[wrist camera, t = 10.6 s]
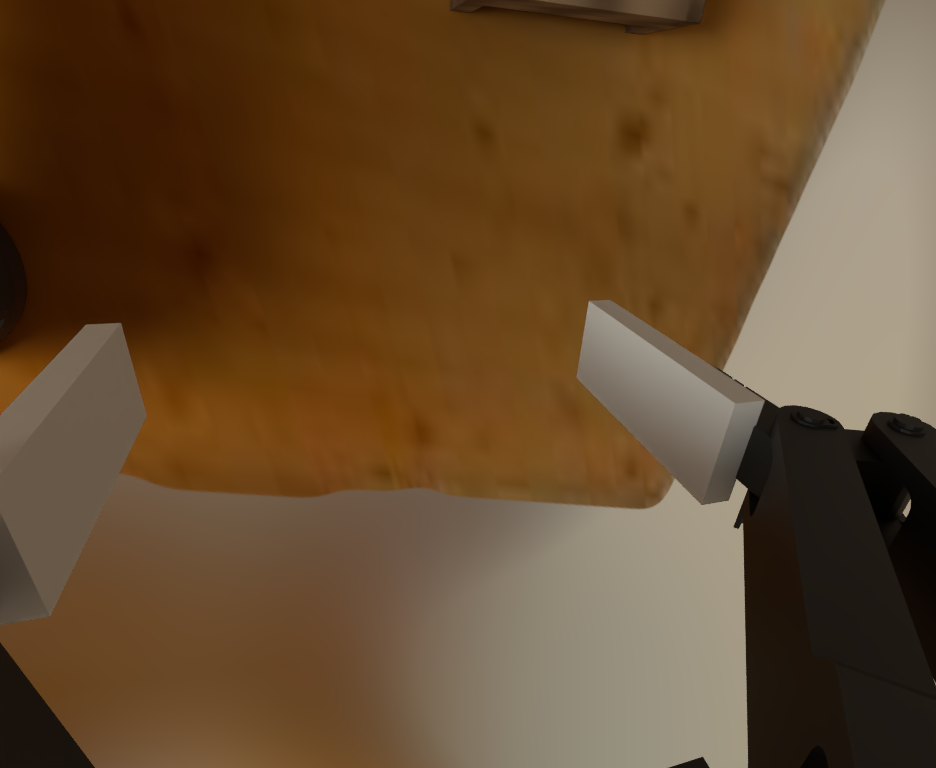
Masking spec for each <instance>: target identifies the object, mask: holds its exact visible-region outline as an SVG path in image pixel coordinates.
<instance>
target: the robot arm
mask: <svg viewBox="0 0 936 768" xmlns="http://www.w3.org/2000/svg"><path fill="white" fill-rule="evenodd" d="M25 299H26V278H25V273H24V269H23V265H22V262H21V259H20V256H19V254H18V252H17V250H16V248H15V246H14V244H13V242H12V240H11V239H10V237H9V235H8V234H7V232H6V231H5V230H4V228H3V227H2V226H1V224H0V341H1V340H2V339H3V338H4V337H6V336H7V335H8V334H9V333H10V331H11V330H12V329H13V328H14V326H15V325H16V324H17V322H18V320H19V318H20V316H21V314H22V311H23V308H24V304H25ZM576 378H577V379H578V380H579V381H580V382H581V383H582V384H583V385H584V386H585V387H586V388H587V389H588V390H589V391H590V392H591V393H592V394H593V395H594V396H595V397H596V398H597V399H598V400H599V401H600V402H601V403H602V404H603V405H604V406H605V407H606V408H607V409H608V410H609V411H610V413H611V414H612V415H613V416H614V417H615V418H616V419H617V420H618V421H619V422H620V423H621V424H622V425H623V426H624V427H625V428H626V429H627V430H628V431H629V432H630V433H631V434H632V435H633V436H634V437H635V438H636V439H637V440H638V441H639V442H640V443H641V444H642V445H643V446H644V447H645V448H646V449H647V450H648V451H649V452H650V453H651V454H652V455H653V456H654V457H655V458H656V459H657V460H658V461H659V462H660V463H661V464H662V465H663V466H664V467H665V468H666V469H667V470H668V471H669V472H670V473H671V474H672V475H673V476H674V477H675V478H676V479H677V480H678V481H679V482H680V483H681V484H682V485H683V487H684V488H685V489H686V490H688V492H689V493H690V494H691V495H692V496H693V497H694V498H696V500H697V501H698V502H699V503H700V504H701V505H704V504H710V503H716V502H722V501H728V500H729V498H730V495H731V493H732V490H733V487H734V484H735V482H736V479H738V480H739V481H740V482H741V483H742V484H743V485H744V486H746V487H747V488H748V490H747V493H746V496H745V498H744V501H743V504H742V506H741V509H740V511H739V514H738V517H737V519H736V522H735V525H734V527H735V528H739V527H740V525H741V523H743V530H744V578H745V579H744V580H745V629H746V675H747V725H748V768H936V685H935V683H934V680H935V682H936V429H935V428H933V427H932V426H931V425H929V424H926V423H924V422H922V421H921V420H920V419H918V418H916V417H913V416H909V415H906V414H896V413H890V412H879V413H875V414H873V415H872V417H871V419H870V421H869V423H868V425H867V427H866V429H865V431H860V430H848V429H844V428H843V426H842V425H841V424H840V422H839V421H837V420H836V419H835V418H833V417H831V416H829V415H827V414H825V413H823V412H820V411H818V410H814V409H811V408H808V407H801V406H793V405H792V406H784V407H781V408H779V407H777V406H776V405H774V404H772V403H771V402H769V401H768V400H766V399H765V398H763V397H762V396H760V395H759V394H757V393H755V392H754V391H752V390H751V389H749V388H748V387H744V385H743V384H742V383H740V382H738V381H737V380H733V379H732V377H731V376H729V375H728V374H726V373H725V372H723V371H721V370H720V369H718V368H716V367H713V366H711V365H710V364H708V363H707V362H705V361H704V360H702V359H701V358H699V357H697V356H696V355H694V354H693V353H691V352H690V351H688V350H687V349H685V348H684V347H682V346H681V345H679V344H677V343H676V342H674V341H673V340H671V339H670V338H668V337H667V336H665V335H664V334H662V333H661V332H659V331H657V330H656V329H654V328H653V327H651V326H650V325H648V324H647V323H645V322H644V321H642V320H641V319H639V318H637V317H636V316H634V315H633V314H631V313H630V312H628V311H627V310H625V309H624V308H622V307H621V306H619V305H618V304H616V303H614V302H613V301H611V300H598V301H589V304H588V310H587V316H586V322H585V328H584V334H583V341H582V347H581V353H580V359H579V365H578V371H577V377H576ZM146 417H147V415H146V412H145V408H144V404H143V401H142V397H141V393H140V390H139V386H138V383H137V379H136V375H135V372H134V368H133V364H132V361H131V357H130V354H129V350H128V346H127V343H126V339H125V336H124V332H123V328H122V325H121V323H108V324H87V325H85V326H84V327H83V328H82V329H81V330H80V331H79V333H78V334H77V335H76V336H75V337H74V338H73V339H72V340H71V341H70V342H69V343H68V344H67V345H66V346H65V347H64V348H63V349H62V350H61V352H60V353H59V354H58V355H57V356H56V357H55V358H54V359H53V360H52V361H51V362H50V363H49V364H48V365H47V366H46V367H45V368H44V369H43V371H42V372H41V373H40V374H39V375H38V376H37V377H36V378H35V379H34V380H33V381H32V382H31V383H30V384H29V385H28V386H27V387H26V388H25V389H24V391H23V392H22V393H21V394H20V395H19V396H18V397H17V398H16V399H15V400H14V401H13V402H12V403H11V404H10V405H9V406H8V407H7V408H6V410H5V411H4V412H3V413H2V414H1V415H0V625H3V624H8V623H14V622H20V621H26V620H32V619H38V618H44V617H49V616H50V615H51V613H52V611H53V609H54V607H55V605H56V603H57V601H58V599H59V597H60V594H61V592H62V590H63V588H64V586H65V584H66V582H67V580H68V578H69V576H70V574H71V572H72V570H73V567H74V566H75V563H76V561H77V559H78V557H79V555H80V553H81V551H82V549H83V547H84V545H85V543H86V541H87V539H88V536H89V534H90V532H91V530H92V528H93V526H94V524H95V522H96V520H97V518H98V516H99V514H100V512H101V510H102V508H103V505H104V503H105V501H106V499H107V497H108V495H109V493H110V491H111V489H112V487H113V485H114V483H115V481H116V478H117V477H118V475H119V473H120V470H121V468H122V466H123V464H124V462H125V460H126V458H127V456H128V454H129V452H130V450H131V448H132V446H133V444H134V442H135V439H136V437H137V435H138V433H139V431H140V429H141V427H142V425H143V423H144V421H145V419H146ZM910 499H911V509H910V511H909V514H908V516H907V518H906V517H905V516H904V514H903V511H904V509H905V508H906V506H907V504H908V502H909V500H910ZM933 679H934V680H933ZM0 768H95V767H94V766H93V765H92V763H91V762H90V761H89V759H88V758H87V757H86V755H85V754H84V753H83V751H82V750H81V749H80V747H79V746H78V745H77V743H76V742H75V741H74V740H73V738H72V737H71V736H70V734H69V733H68V731H67V730H66V729H65V728H64V726H63V725H62V724H61V722H60V721H59V720H58V718H57V717H56V716H55V714H54V713H53V712H52V710H51V709H50V708H49V707H48V705H47V704H46V702H45V701H44V700H43V699H42V697H41V696H40V695H39V693H38V692H37V690H36V689H35V688H34V687H33V685H32V684H31V683H30V681H29V680H28V679H27V677H26V676H25V675H24V673H23V672H22V671H21V669H20V668H19V667H18V665H17V664H16V663H15V661H14V660H13V659H12V658H11V656H10V655H9V653H8V652H7V651H6V650H5V648H4V647H3V646H2V644H1V643H0ZM670 768H709V766H708V765H707V763H706V761H705V760H704V758H703V757H701V758H698V759H694V760H692V761H688V762H685V763H682V764H679V765H676V766H673V767H670Z"/></svg>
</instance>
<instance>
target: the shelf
mask: <svg viewBox="0 0 936 768" xmlns="http://www.w3.org/2000/svg"><path fill="white" fill-rule="evenodd" d="M705 1H706V0H451V8H450V10H452V11H460V12H468V13H471V12H472V11H474V10H476V9H478V8H480V7H482V6H491V7H499V8H506V9H514V10H521V11H529V12H537V13H544V14H552V15H559V16H567V17H574V18H582V19H590V20H597V21H605V22H612V23H620V24H627V25H626V31H625V33H633V34H641V35H642V34H647V33H652V32H657V31H662V30H668V29H673V28H678V27H683V26H688V25H693V24H698V23H701V19H702V14H703V10H704V5H705Z"/></svg>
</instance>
